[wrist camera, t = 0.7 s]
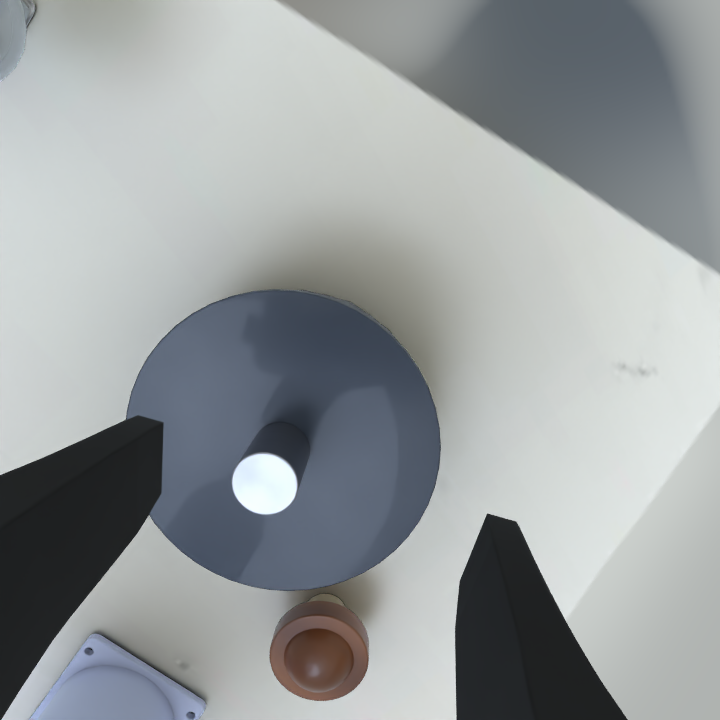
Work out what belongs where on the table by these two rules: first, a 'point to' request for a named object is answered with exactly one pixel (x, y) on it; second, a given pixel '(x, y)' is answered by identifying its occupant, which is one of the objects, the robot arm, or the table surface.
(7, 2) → the robot toy
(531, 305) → the table surface
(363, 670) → the mushroom
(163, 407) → the pan lid
